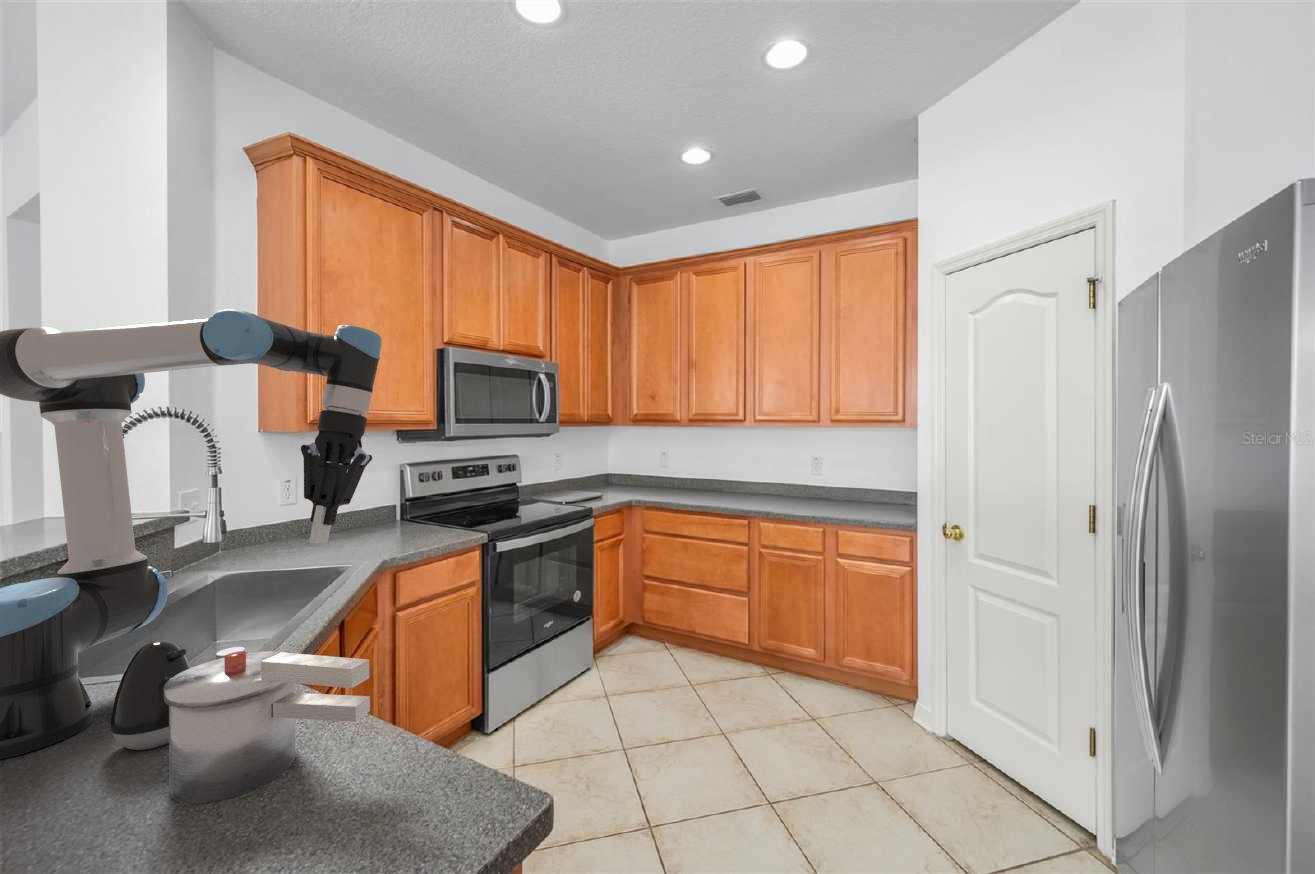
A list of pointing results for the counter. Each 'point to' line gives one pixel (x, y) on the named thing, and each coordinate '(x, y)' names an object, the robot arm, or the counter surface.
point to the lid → (259, 677)
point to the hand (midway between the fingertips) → (318, 542)
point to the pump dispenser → (146, 696)
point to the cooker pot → (244, 741)
